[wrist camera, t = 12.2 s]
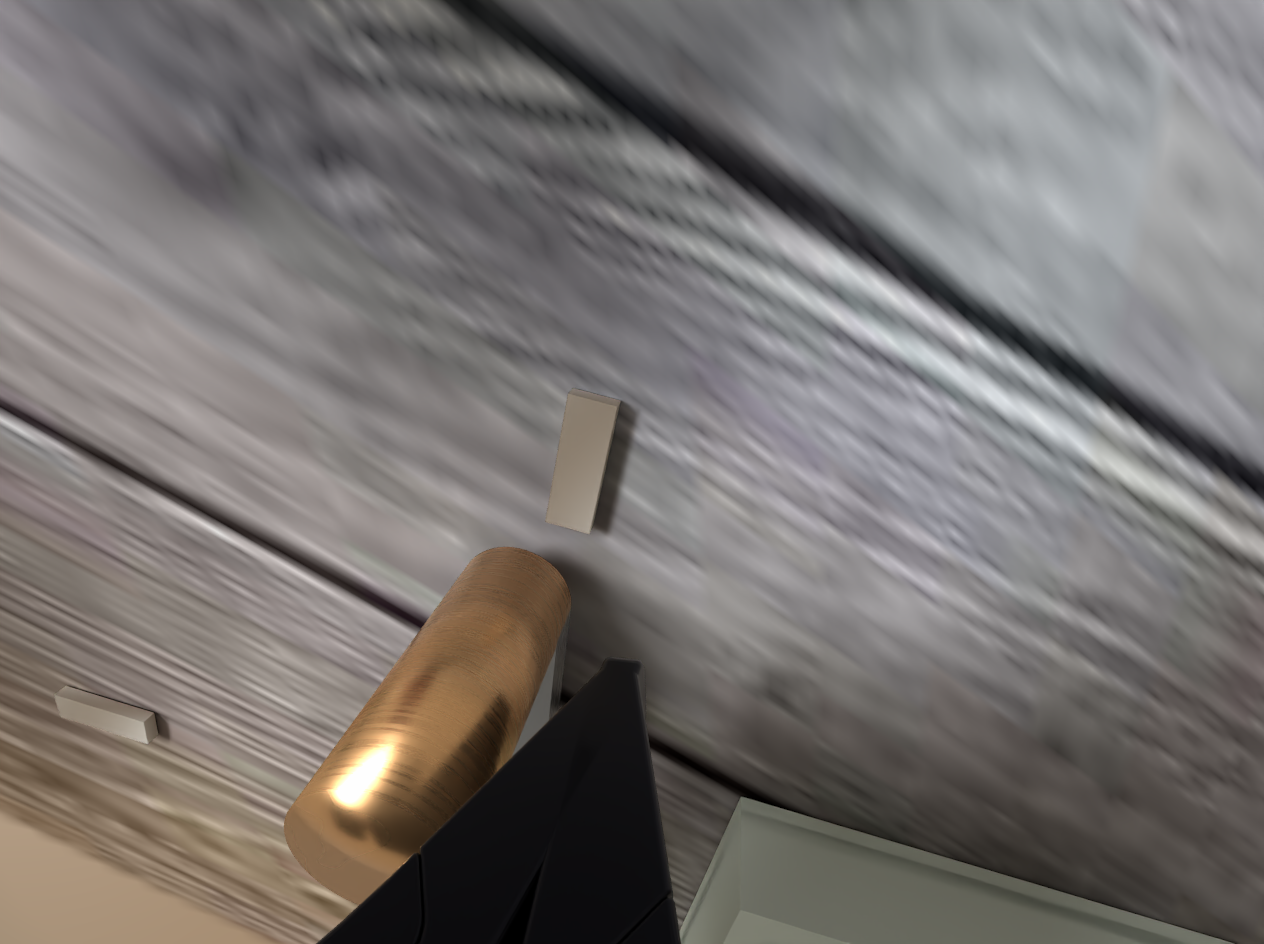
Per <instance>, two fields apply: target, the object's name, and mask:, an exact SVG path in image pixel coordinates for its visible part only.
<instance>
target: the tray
mask: <svg viewBox="0 0 1264 944" xmlns="http://www.w3.org/2000/svg"><path fill="white" fill-rule="evenodd" d="M679 933H680V939H681V944H1234V943H1231V942H1228V941H1224V940H1221V939H1218V938H1214V937H1211V936H1208V935H1204V934H1201V933H1198V932H1194V931H1191V930H1187V929H1184V928H1181V927H1177V926H1174V925H1171V924H1167V923H1164V922H1161V921H1157V920H1154V919H1151V918H1147V917H1144V916H1141V915H1137V914H1134V913H1130V912H1127V911H1124V910H1120V909H1117V908H1114V907H1110V906H1107V905H1104V904H1100V903H1097V902H1094V901H1090V900H1087V899H1084V898H1080V897H1077V896H1074V895H1070V894H1067V893H1063V892H1060V891H1057V890H1053V889H1050V888H1047V887H1043V886H1040V885H1037V884H1033V883H1030V882H1027V881H1023V880H1020V879H1017V878H1013V877H1010V876H1006V875H1003V874H1000V873H996V872H993V871H990V870H986V869H983V868H980V867H976V866H973V865H970V864H966V863H963V862H960V861H956V860H953V859H949V858H946V857H943V856H939V855H936V854H933V853H929V852H926V851H923V850H919V849H916V848H913V847H909V846H906V845H903V844H899V843H896V842H893V841H889V840H886V839H882V838H879V837H876V836H872V835H869V834H866V833H862V832H859V831H856V830H852V829H849V828H846V827H842V826H839V825H836V824H832V823H829V822H825V821H822V820H819V819H815V818H812V817H809V816H805V815H802V814H799V813H795V812H792V811H789V810H785V809H782V808H779V807H775V806H772V805H768V804H765V803H762V802H758V801H755V800H752V799H748V798H745V797H742V796H741V797H740V800H739V802H738V804H737V806H736V808H735V811H734V813H733V815H732V817H731V819H730V822H729V824H728V826H727V828H726V830H725V833H724V835H723V837H722V839H721V841H720V844H719V846H718V848H717V850H716V852H715V854H714V857H713V859H712V861H711V863H710V865H709V868H708V870H707V872H706V874H705V876H704V879H703V881H702V883H701V885H700V887H699V890H698V892H697V894H696V896H695V898H694V900H693V903H692V905H691V907H690V909H689V911H688V914H687V916H686V918H685V920H684V922H683V925H682V927H681V929H680V931H679Z"/></svg>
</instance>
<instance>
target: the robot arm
mask: <svg viewBox="0 0 1264 944" xmlns="http://www.w3.org/2000/svg"><path fill="white" fill-rule="evenodd" d="M316 944H681V939H680V933H679V926H678V920H677V914H676V907H675V902H674V900H673V891H672V885H671V878H670V872H669V866H668V859H667V853H666V847H665V840H664V834H663V828H662V822H661V815H660V809H659V803H658V796H657V790H656V784H655V777H654V771H653V765H652V758H651V752H650V746H649V739H648V733H647V727H646V689H645V670H644V665H643V663H642V662H641V661H640V660H636V659H626V658H617V657H609V658H607V659H605V661H604V662H603V665H602V667H601V669H600V671H599V672H598V673H597V674H596V675H595V676H594V677H593V678H592V679H591V680H590V681H589V682H588V683H587V684H585V685H584V686H583V687H582V688H581V689H580V690H579V691H578V692H577V693H576V694H575V695H574V696H573V697H572V698H571V699H570V700H569V701H568V702H567V703H566V704H565V705H564V706H563V707H562V708H561V709H560V710H559V711H558V712H557V713H556V714H555V715H554V716H553V717H552V718H551V719H550V720H549V721H548V722H547V723H546V724H545V725H544V726H543V727H542V728H541V729H540V730H539V731H538V732H537V733H536V734H535V735H534V736H533V737H532V738H531V739H530V740H528V741H527V742H526V743H525V744H524V745H523V746H522V747H521V748H520V749H519V750H518V751H517V752H516V753H515V754H514V755H513V756H512V757H511V758H510V759H509V760H508V761H507V762H506V763H505V764H504V765H503V766H502V767H501V768H500V769H499V770H498V771H497V772H496V773H495V774H494V775H493V776H492V777H491V778H490V779H489V780H488V781H487V782H486V783H485V784H484V785H483V786H482V787H481V788H480V789H479V790H478V791H477V792H476V793H475V794H474V795H473V796H471V797H470V798H469V799H468V800H467V801H466V802H465V803H464V804H463V805H462V806H461V807H460V808H459V809H458V810H457V811H456V812H455V813H454V814H453V815H452V816H451V817H450V818H449V819H448V820H447V821H446V822H445V823H444V824H443V825H442V826H441V827H440V828H439V829H438V830H437V831H436V832H435V833H434V834H433V835H432V836H431V837H430V838H429V839H428V840H427V841H426V842H425V843H424V844H423V845H422V846H421V847H420V854H419V853H417V852H415V853H413V854H412V855H411V856H410V857H409V858H408V859H407V860H406V861H405V862H404V863H403V864H402V865H401V866H400V867H399V868H398V869H397V870H396V871H395V872H394V873H393V874H392V875H391V876H390V877H389V878H388V879H387V880H386V881H384V882H383V883H382V884H381V885H380V886H379V887H378V888H377V889H376V890H375V891H374V892H373V893H372V894H371V895H370V896H368V897H367V898H366V899H365V900H364V901H363V902H362V903H361V904H360V905H359V906H358V907H357V908H356V909H355V910H354V911H353V912H351V913H350V914H349V915H348V916H347V917H346V918H345V919H344V920H343V921H342V922H341V923H340V924H338V925H337V926H336V927H335V928H334V929H333V930H331V931H330V932H329V933H328V934H327V935H326V936H325V937H323V938H322V939H321V940H320V941H319V942H318V943H316Z"/></svg>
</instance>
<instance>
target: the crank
mask: <svg viewBox="0 0 1264 944" xmlns="http://www.w3.org/2000/svg"><path fill="white" fill-rule="evenodd" d="M570 613H571V595H570V592H569V588H568V586H567V584H566V582H565V580H564V578H563V577H562V576H561V574H560V573H559V572H558V570H557V569H556V568H555V567H554V566H553V565H551V564H550V563H549V562H548V561H546V560H545V559H543V558H542V557H540V556H538V555H536V554H534V553H532V552H529V551H527V550H523V549H520V548H513V547H498V548H493V549H489V550H486V551H484V552H482V553H480V554H478V555H477V556H476V557H474V558H473V559H472V560H471V561H470V563H469V564H468V565H467V567H466V568H465V569H464V571H463V572H462V573H461V575H460V576H459V578H458V579H457V580H456V582H455V583H454V584H453V586H452V587H451V589H450V590H449V591H448V593H447V594H446V595H445V597H444V598H443V600H442V601H441V602H440V604H439V605H438V606H437V608H436V609H435V610H434V612H433V613H432V615H431V616H430V617H429V619H428V620H427V621H426V623H425V624H424V626H423V627H422V628H421V630H420V631H419V632H418V634H417V635H416V636H415V638H414V639H413V641H412V642H411V643H410V645H409V646H408V647H407V649H406V650H405V652H404V653H403V654H402V656H401V657H400V658H399V660H398V661H397V663H396V664H395V665H394V667H393V668H392V669H391V671H390V672H389V673H388V675H387V676H386V678H385V679H384V680H383V682H382V683H381V684H380V686H379V687H378V689H377V690H376V691H375V693H374V694H373V695H372V697H371V698H370V699H369V701H368V702H367V704H366V705H365V706H364V708H363V709H362V710H361V712H360V713H359V715H358V716H357V717H356V719H355V720H354V721H353V723H352V724H351V725H350V727H349V728H348V730H347V731H346V732H345V734H344V735H343V736H342V738H341V739H340V741H339V742H338V743H337V745H336V746H335V747H334V749H333V750H332V752H331V753H330V754H329V756H328V757H327V758H326V760H325V761H324V762H323V764H322V765H321V767H320V768H319V769H318V771H317V772H316V773H315V775H314V776H313V778H312V779H311V780H310V782H309V783H308V784H307V786H306V787H305V788H304V790H303V791H302V793H301V794H300V795H299V797H298V798H297V799H296V801H295V802H294V804H293V805H292V806H291V808H290V809H289V811H288V812H287V815H286V817H285V822H284V833H285V837H286V841H287V844H288V846H289V848H290V850H291V852H292V853H293V855H294V857H295V858H296V859H297V861H298V862H299V863H300V865H301V866H302V867H303V868H304V869H305V870H306V871H307V872H308V873H309V874H310V875H311V876H312V877H313V878H314V879H316V880H317V881H318V882H319V883H321V884H322V885H323V886H325V887H326V888H328V889H329V890H331V891H332V892H334V893H336V894H338V895H339V896H341V897H343V898H345V899H347V900H349V901H351V902H353V903H356V904H358V905H360V904H361V903H362V902H363V901H364V900H365V899H366V898H367V897H368V896H370V895H371V894H372V893H373V892H374V891H375V890H376V889H377V888H378V887H379V886H380V885H381V884H382V883H383V882H384V881H386V880H387V879H388V878H389V877H390V876H391V875H392V874H393V873H394V872H395V871H396V870H397V869H398V868H399V867H400V866H401V865H402V864H403V863H404V862H405V861H406V860H407V859H408V858H409V857H410V856H411V855H412V854H413V853H415V852H417V853H419V854H420V847H421V846H422V845H423V844H424V843H425V842H426V841H427V840H428V839H429V838H430V837H431V836H432V835H433V834H434V833H435V832H436V831H437V830H438V829H439V828H440V827H441V826H442V825H443V824H444V823H445V822H446V821H447V820H448V819H449V818H450V817H451V816H452V815H453V814H454V813H455V812H456V811H457V810H458V809H459V808H460V807H461V806H462V805H463V804H464V803H465V802H466V801H467V800H468V799H469V798H470V797H471V796H473V795H474V794H475V793H476V792H477V791H478V790H479V789H480V788H481V787H482V786H483V785H484V784H485V783H486V782H487V781H488V780H489V779H490V778H491V777H492V776H493V775H494V774H495V773H496V772H497V771H498V770H499V769H500V768H501V767H502V766H503V765H504V764H505V763H506V762H507V761H508V760H509V759H510V758H511V757H512V756H513V755H514V754H515V753H516V752H517V751H518V750H519V749H520V748H521V747H522V746H523V745H524V744H525V743H526V742H527V741H528V740H530V739H531V738H532V737H533V736H534V735H535V734H536V733H537V732H538V731H539V730H540V729H541V728H542V727H543V726H544V725H545V724H546V723H547V722H548V721H549V720H550V719H551V718H552V717H553V716H554V715H555V714H556V713H557V712H558V711H559V706H560V697H561V689H562V681H563V672H564V664H565V655H566V647H567V638H568V630H569V621H570Z"/></svg>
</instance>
